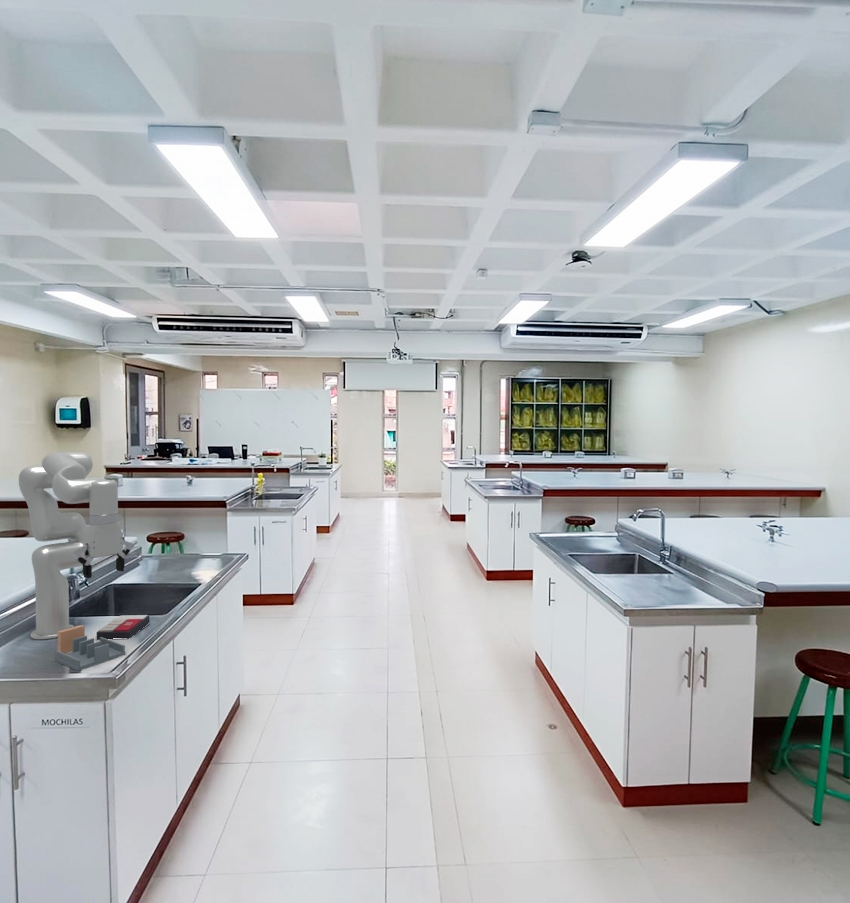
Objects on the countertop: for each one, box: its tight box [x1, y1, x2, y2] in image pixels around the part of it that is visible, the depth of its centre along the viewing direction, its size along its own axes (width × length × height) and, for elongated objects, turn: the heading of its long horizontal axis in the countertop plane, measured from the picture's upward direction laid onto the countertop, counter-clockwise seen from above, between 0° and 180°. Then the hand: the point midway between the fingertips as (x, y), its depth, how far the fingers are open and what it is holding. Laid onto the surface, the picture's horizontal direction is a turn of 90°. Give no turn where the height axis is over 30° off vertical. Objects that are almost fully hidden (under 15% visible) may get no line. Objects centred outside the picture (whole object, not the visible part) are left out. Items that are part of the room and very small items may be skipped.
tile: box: [57, 624, 86, 654], centre depth 168 cm, size 2×7×7 cm, turn 149°
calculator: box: [96, 614, 151, 641], centre depth 185 cm, size 11×4×15 cm
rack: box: [54, 635, 127, 672], centre depth 162 cm, size 14×14×5 cm
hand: (104, 574), depth 162 cm, fingers open, 9 cm apart
